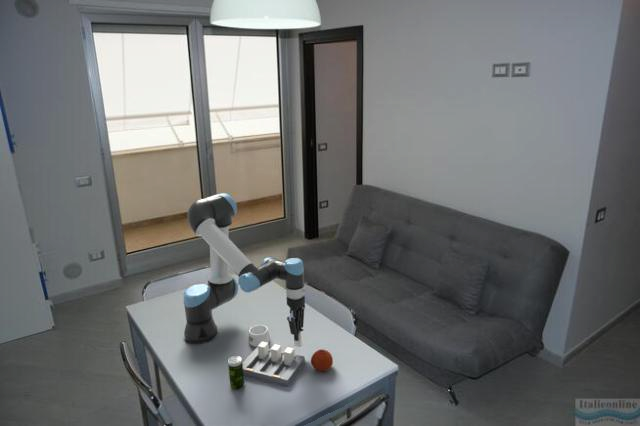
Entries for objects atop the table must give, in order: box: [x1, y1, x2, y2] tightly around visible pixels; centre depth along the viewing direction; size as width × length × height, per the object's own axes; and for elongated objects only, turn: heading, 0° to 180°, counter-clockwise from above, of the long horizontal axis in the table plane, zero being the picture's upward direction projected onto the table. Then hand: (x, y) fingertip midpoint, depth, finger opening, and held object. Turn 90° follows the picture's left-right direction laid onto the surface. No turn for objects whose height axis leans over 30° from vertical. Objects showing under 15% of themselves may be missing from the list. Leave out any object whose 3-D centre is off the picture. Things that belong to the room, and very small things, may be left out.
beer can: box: [227, 355, 245, 392], centre depth 173 cm, size 5×5×12 cm
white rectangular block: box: [258, 341, 270, 360], centre depth 189 cm, size 3×4×6 cm
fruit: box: [310, 348, 334, 372], centre depth 182 cm, size 9×9×8 cm
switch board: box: [242, 347, 306, 387], centre depth 184 cm, size 22×16×3 cm
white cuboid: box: [270, 343, 283, 363], centre depth 187 cm, size 3×4×6 cm
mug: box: [247, 324, 271, 348], centre depth 204 cm, size 12×10×6 cm
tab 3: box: [283, 346, 296, 366], centre depth 184 cm, size 3×4×6 cm
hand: (297, 345), depth 192 cm, fingers closed
